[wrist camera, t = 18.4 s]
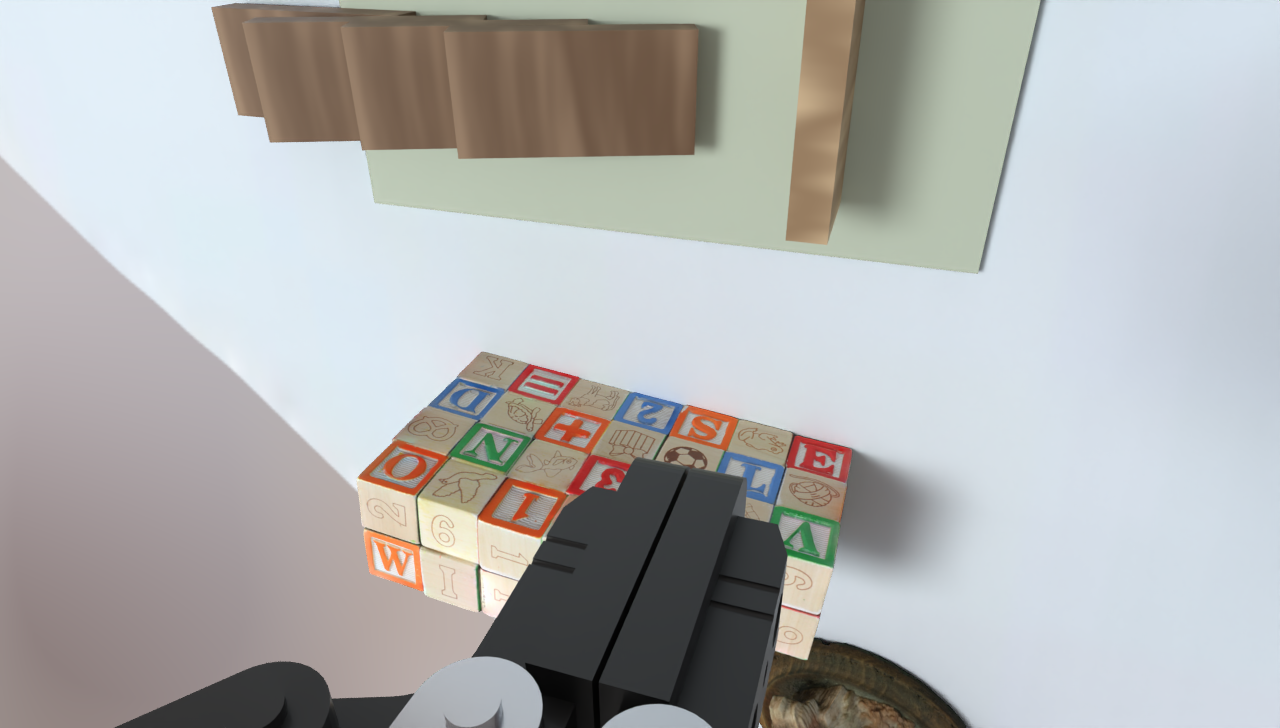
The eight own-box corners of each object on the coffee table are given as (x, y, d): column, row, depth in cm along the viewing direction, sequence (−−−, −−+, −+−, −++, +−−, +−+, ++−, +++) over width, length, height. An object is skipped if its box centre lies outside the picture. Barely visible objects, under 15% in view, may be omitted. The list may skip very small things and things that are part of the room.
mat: (1078, -171, 27) (1080, -172, 27) (977, 270, 35) (977, 273, 35) (317, -157, 35) (311, -157, 35) (378, 200, 43) (374, 202, 43)
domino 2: (483, 20, 34) (241, 22, 34) (494, 138, 37) (270, 142, 36) (486, 14, 36) (254, 17, 35) (497, 128, 38) (281, 133, 38)
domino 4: (698, 29, 32) (443, 31, 32) (694, 154, 35) (458, 158, 34) (694, 23, 33) (449, 25, 33) (690, 144, 36) (463, 148, 35)
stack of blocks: (856, 444, 42) (829, 623, 31) (830, 533, 45) (798, 721, 35) (479, 349, 46) (350, 479, 36) (481, 436, 50) (364, 577, 39)
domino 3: (588, 24, 33) (340, 27, 33) (592, 145, 36) (362, 150, 35) (587, 18, 35) (350, 21, 34) (591, 136, 37) (370, 140, 37)
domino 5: (861, -47, 26) (827, 245, 31) (872, -57, 30) (840, 202, 35) (810, -48, 26) (785, 240, 31) (828, -57, 30) (803, 199, 36)
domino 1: (396, 15, 36) (211, 7, 38) (412, 130, 38) (238, 115, 41) (415, 11, 37) (235, 3, 39) (430, 122, 39) (260, 107, 42)
